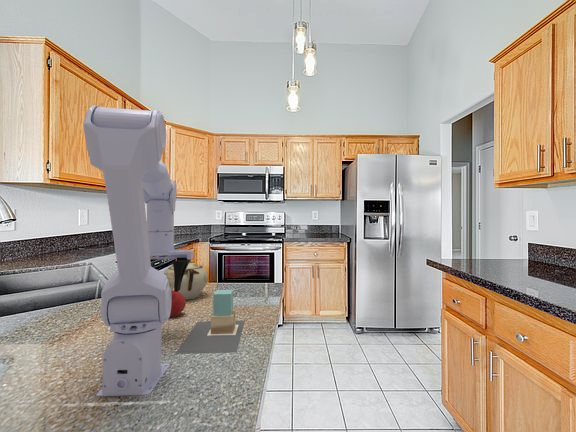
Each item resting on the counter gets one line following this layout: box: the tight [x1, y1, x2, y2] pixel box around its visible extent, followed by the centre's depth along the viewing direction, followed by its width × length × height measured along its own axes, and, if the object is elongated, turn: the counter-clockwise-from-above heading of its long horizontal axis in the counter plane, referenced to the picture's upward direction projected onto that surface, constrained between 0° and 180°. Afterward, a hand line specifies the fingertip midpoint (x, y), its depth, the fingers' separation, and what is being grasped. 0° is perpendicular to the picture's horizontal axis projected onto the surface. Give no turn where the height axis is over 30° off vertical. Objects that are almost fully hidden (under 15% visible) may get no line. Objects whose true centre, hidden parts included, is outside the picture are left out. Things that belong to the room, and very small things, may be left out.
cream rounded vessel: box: [163, 260, 209, 300], centre depth 102 cm, size 20×15×15 cm
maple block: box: [210, 309, 236, 334], centre depth 71 cm, size 5×5×4 cm
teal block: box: [212, 289, 234, 316], centre depth 71 cm, size 4×4×5 cm
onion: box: [170, 288, 187, 318], centre depth 81 cm, size 6×6×8 cm
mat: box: [174, 320, 246, 355], centre depth 68 cm, size 18×12×1 cm, turn 3°
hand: (160, 291), depth 68 cm, fingers open, 7 cm apart
